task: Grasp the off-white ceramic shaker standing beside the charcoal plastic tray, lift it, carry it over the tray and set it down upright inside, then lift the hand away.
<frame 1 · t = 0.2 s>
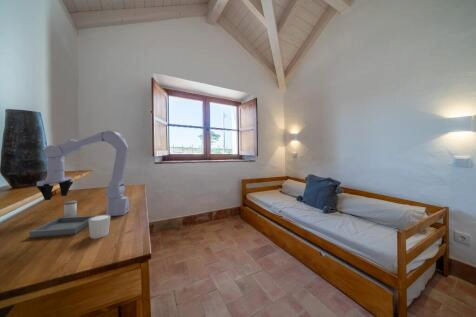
hand: (56, 197, 82), 10 cm above the table, tool pointing down, fingers open, 7 cm apart
white cup: (99, 235, 67), on the table
shaker: (70, 217, 82), on the table
tray: (66, 228, 71), on the table
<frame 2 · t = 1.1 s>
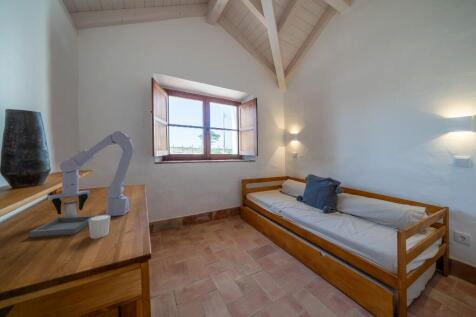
hand: (70, 211, 82), 3 cm above the table, tool pointing down, fingers open, 7 cm apart
nothing on the table moved.
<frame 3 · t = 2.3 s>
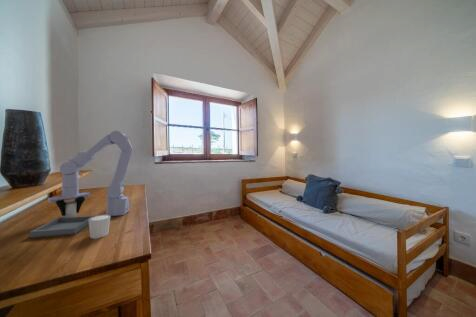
hand: (70, 213, 82), 2 cm above the table, tool pointing down, fingers closed on shaker, 4 cm apart
shaker: (70, 217, 82), on the table, touching gripper
everything else where it was.
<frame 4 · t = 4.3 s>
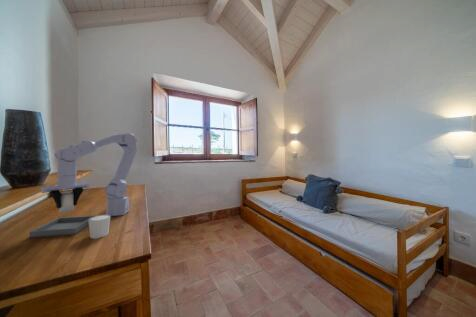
hand: (66, 206, 72), 9 cm above the table, tool pointing down, fingers closed on shaker, 4 cm apart
shaker: (66, 211, 72), point 7 cm above the table, touching gripper
everything else where it was.
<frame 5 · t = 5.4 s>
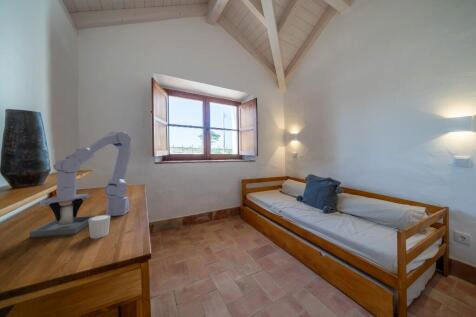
hand: (66, 218, 71), 4 cm above the table, tool pointing down, fingers closed on shaker, 4 cm apart
shaker: (66, 223, 71), point 2 cm above the table, touching gripper
everything else where it was.
when the fingers open (4 cm above the table, at t = 6.2 s): shaker drops 1 cm, resting on tray.
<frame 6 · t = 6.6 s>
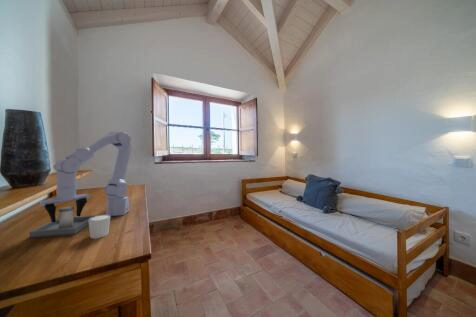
hand: (66, 218, 71), 4 cm above the table, tool pointing down, fingers open, 7 cm apart
shaker: (66, 226, 71), point 1 cm above the table, touching tray
everything else where it was.
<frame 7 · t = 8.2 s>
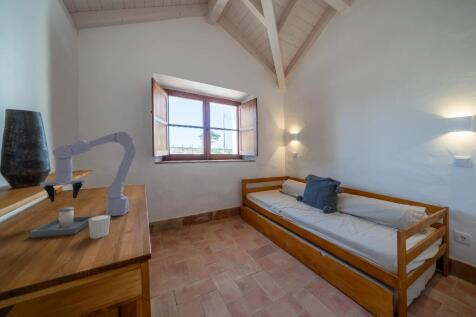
hand: (63, 199, 80), 9 cm above the table, tool pointing down, fingers open, 7 cm apart
nothing on the table moved.
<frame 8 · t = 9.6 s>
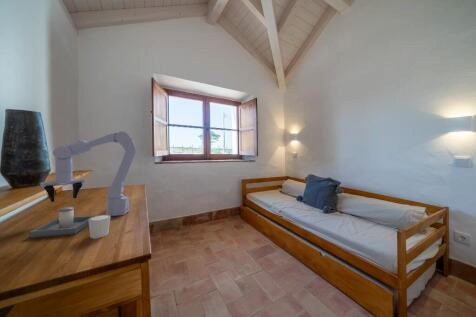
hand: (64, 199, 80), 9 cm above the table, tool pointing down, fingers open, 7 cm apart
nothing on the table moved.
at the end: shaker inside the target area on the tray (0.1 cm from its centre), point 0.6 cm above the tray's base; shaker tilted 0°; the gripper is holding nothing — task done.
